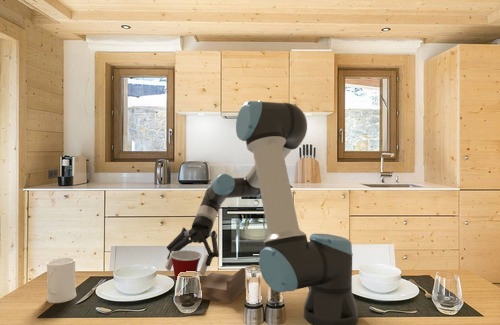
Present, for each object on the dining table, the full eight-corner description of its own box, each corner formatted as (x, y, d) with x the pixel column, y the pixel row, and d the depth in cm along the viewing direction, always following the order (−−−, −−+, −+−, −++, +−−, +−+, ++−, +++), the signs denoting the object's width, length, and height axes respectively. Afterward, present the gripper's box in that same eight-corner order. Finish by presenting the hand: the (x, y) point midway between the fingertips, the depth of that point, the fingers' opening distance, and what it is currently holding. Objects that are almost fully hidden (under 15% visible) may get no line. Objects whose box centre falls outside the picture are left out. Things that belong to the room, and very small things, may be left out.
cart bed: (245, 288, 125) (245, 268, 125) (230, 303, 113) (230, 280, 113) (211, 283, 129) (211, 264, 129) (193, 297, 117) (193, 276, 117)
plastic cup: (199, 294, 120) (198, 258, 120) (166, 293, 120) (166, 258, 120) (204, 282, 131) (203, 249, 131) (174, 282, 131) (173, 249, 131)
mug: (58, 308, 109) (58, 269, 109) (32, 307, 110) (32, 268, 110) (81, 293, 121) (81, 257, 121) (58, 292, 122) (57, 256, 122)
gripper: (237, 228, 137) (220, 281, 123) (180, 223, 146) (158, 272, 132) (231, 216, 132) (213, 270, 118) (172, 212, 140) (149, 262, 127)
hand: (184, 271), depth 125 cm, fingers open, 13 cm apart
